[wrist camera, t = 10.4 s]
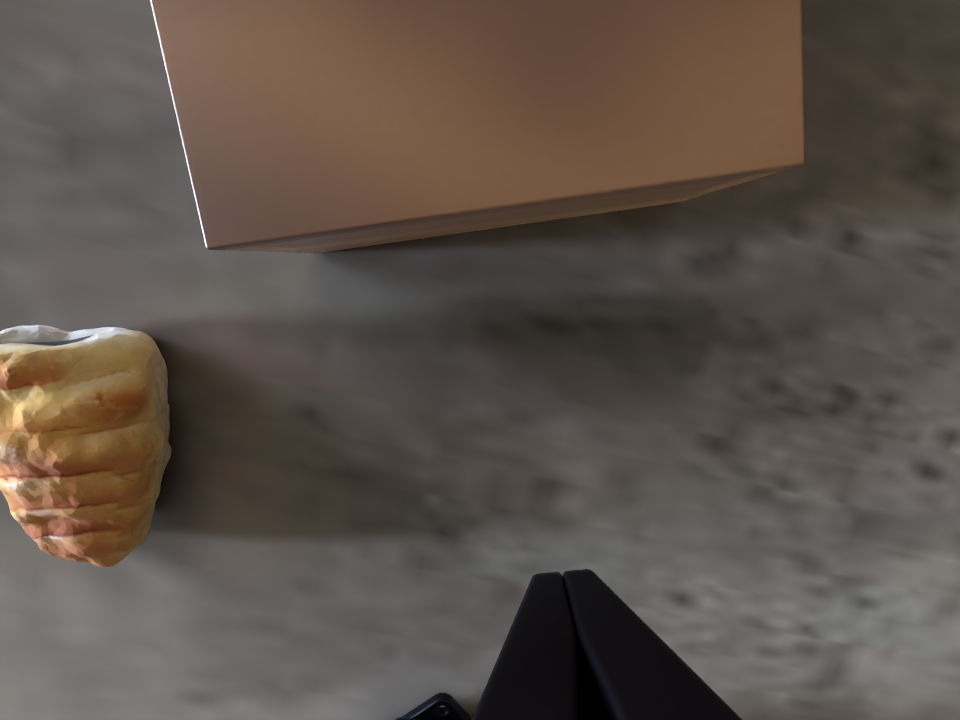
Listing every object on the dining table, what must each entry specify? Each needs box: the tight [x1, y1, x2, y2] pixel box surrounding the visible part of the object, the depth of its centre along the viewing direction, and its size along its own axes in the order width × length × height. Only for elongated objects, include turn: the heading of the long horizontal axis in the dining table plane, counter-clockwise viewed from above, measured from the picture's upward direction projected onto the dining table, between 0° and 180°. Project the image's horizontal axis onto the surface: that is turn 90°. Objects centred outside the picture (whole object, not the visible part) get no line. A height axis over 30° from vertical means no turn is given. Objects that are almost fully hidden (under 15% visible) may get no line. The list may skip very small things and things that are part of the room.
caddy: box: [230, 171, 780, 253], centre depth 15 cm, size 11×14×7 cm
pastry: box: [0, 325, 171, 567], centre depth 19 cm, size 9×7×4 cm
